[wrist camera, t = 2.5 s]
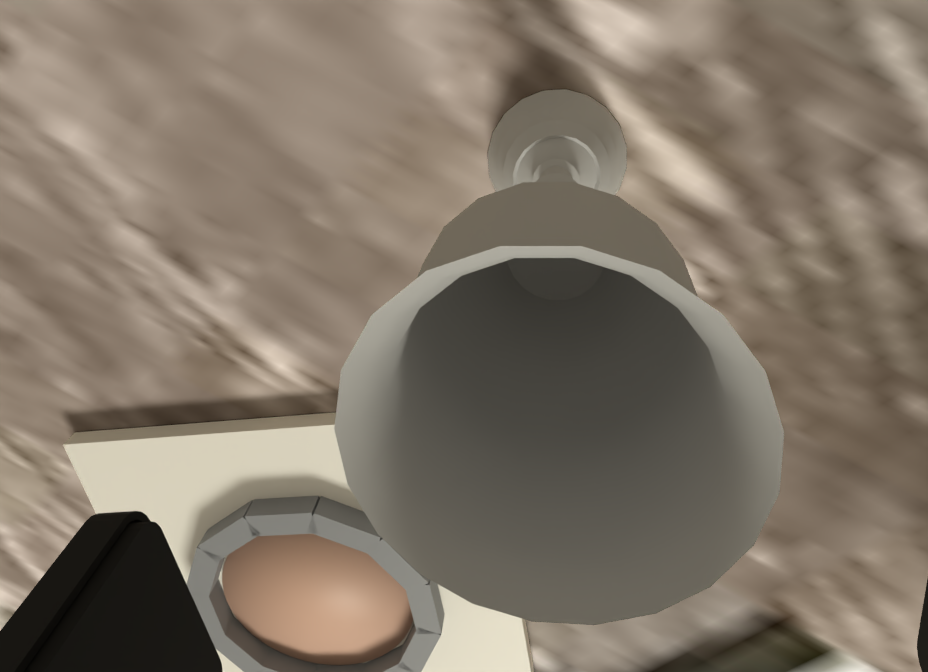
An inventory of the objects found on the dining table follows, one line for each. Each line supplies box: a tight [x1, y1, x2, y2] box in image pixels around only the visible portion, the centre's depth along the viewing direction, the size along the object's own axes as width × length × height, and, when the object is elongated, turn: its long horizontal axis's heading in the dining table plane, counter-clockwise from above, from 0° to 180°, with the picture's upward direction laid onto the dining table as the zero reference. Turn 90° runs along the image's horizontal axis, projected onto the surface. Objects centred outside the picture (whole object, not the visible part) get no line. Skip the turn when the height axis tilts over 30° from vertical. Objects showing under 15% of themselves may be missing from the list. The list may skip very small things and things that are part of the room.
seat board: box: [63, 412, 534, 672], centre depth 38 cm, size 20×20×2 cm
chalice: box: [334, 89, 784, 625], centre depth 20 cm, size 7×7×18 cm
